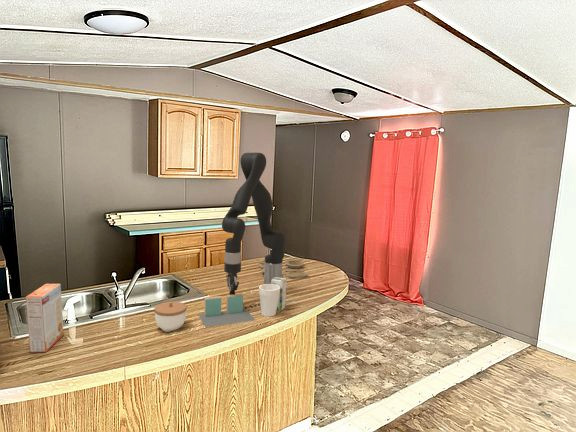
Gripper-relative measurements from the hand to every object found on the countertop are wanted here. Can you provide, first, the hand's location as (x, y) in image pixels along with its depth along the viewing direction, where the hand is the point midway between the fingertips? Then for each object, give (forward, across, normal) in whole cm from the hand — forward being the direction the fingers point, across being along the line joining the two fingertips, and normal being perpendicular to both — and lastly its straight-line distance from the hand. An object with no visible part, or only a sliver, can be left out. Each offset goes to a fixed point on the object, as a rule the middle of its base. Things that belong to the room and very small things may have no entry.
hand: (232, 297), depth 187 cm
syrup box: (+6, -4, -21) cm, 23 cm away
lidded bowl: (+6, -10, +29) cm, 31 cm away
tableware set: (+7, +53, -48) cm, 72 cm away
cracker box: (+6, -10, +73) cm, 74 cm away
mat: (+6, -8, +5) cm, 11 cm away
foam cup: (+6, -10, -14) cm, 19 cm away
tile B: (+6, -4, +10) cm, 12 cm away
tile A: (+6, -4, 0) cm, 7 cm away
